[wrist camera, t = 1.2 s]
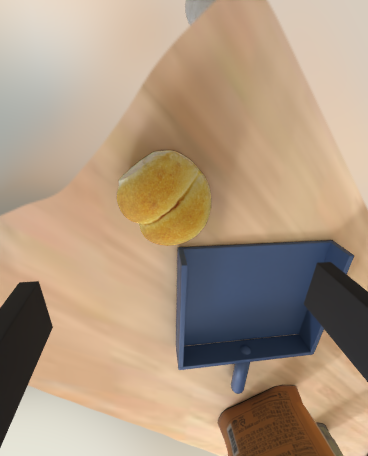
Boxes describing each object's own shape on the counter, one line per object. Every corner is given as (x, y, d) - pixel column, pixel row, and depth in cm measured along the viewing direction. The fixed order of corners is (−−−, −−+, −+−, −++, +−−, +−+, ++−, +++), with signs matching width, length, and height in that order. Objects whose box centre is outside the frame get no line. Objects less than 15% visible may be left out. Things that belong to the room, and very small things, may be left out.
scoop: (177, 247, 26) (181, 265, 23) (332, 239, 29) (354, 255, 26) (175, 384, 38) (177, 408, 35) (286, 370, 40) (298, 391, 37)
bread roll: (162, 249, 26) (164, 270, 23) (104, 186, 22) (96, 201, 19) (224, 206, 25) (236, 222, 21) (174, 132, 21) (180, 136, 17)
